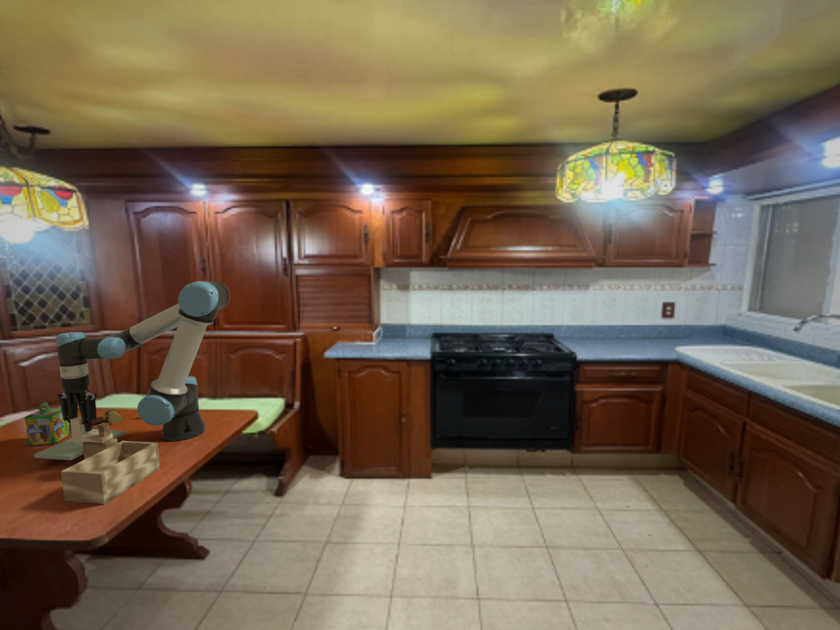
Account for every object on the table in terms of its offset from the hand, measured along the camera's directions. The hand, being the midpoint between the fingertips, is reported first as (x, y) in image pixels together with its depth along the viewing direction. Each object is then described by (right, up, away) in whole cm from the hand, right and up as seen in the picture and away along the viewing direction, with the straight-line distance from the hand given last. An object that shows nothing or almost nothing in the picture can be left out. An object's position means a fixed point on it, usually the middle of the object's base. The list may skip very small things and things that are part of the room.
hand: (82, 439), depth 143 cm
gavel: (-19, -3, +26) cm, 32 cm away
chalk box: (-23, -4, +12) cm, 26 cm away
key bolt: (+16, +4, -13) cm, 21 cm away
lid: (0, -3, 0) cm, 3 cm away
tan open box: (+23, -7, -20) cm, 31 cm away
